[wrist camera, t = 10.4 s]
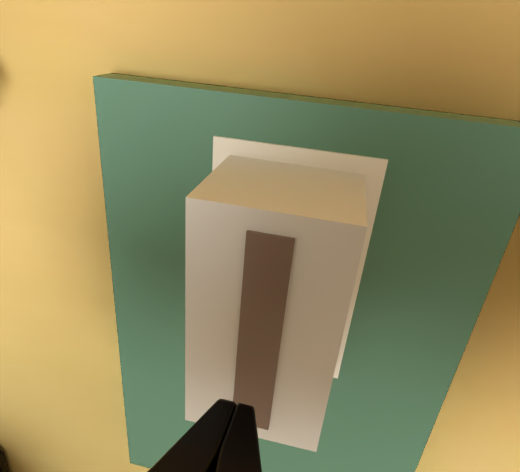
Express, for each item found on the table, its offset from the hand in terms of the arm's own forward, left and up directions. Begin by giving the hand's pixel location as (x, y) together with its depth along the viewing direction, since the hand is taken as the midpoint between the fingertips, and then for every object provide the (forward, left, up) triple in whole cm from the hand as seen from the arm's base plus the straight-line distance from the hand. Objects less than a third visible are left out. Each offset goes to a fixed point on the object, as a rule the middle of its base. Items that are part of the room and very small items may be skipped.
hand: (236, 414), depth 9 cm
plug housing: (0, 0, -6) cm, 7 cm away
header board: (-4, 0, -8) cm, 9 cm away
